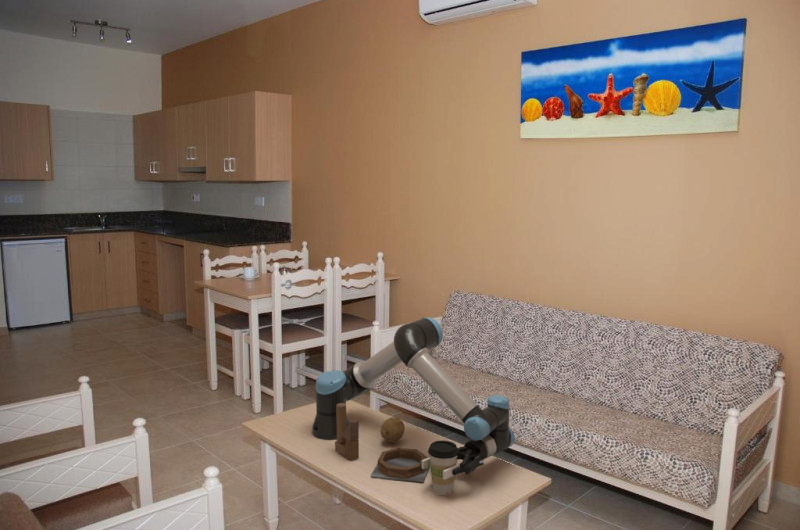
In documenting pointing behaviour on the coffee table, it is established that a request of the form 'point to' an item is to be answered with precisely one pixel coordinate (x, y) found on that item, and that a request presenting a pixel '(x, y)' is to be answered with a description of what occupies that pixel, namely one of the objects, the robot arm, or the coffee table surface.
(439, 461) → the coffee cup
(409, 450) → the cup collar
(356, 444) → the wooden block
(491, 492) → the coffee table surface
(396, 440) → the brown round lump
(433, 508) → the coffee table surface
